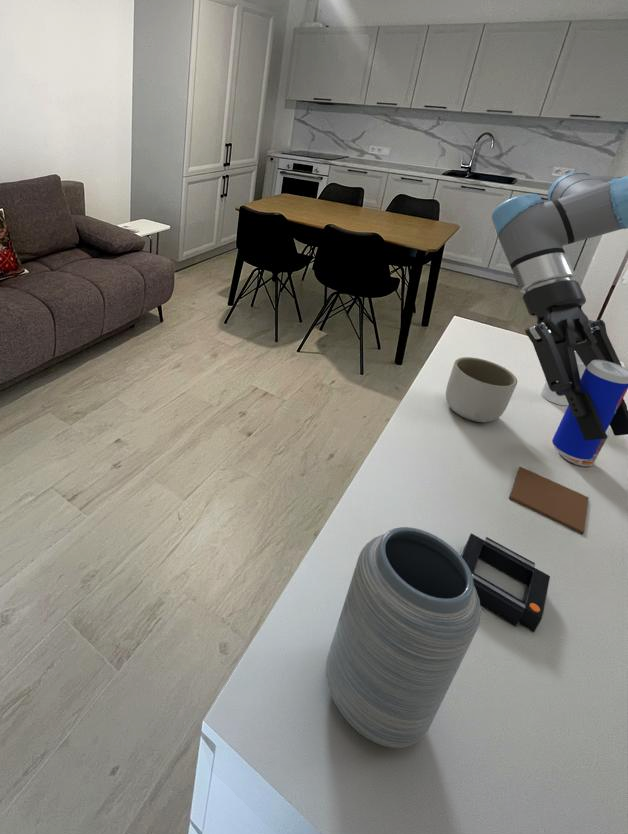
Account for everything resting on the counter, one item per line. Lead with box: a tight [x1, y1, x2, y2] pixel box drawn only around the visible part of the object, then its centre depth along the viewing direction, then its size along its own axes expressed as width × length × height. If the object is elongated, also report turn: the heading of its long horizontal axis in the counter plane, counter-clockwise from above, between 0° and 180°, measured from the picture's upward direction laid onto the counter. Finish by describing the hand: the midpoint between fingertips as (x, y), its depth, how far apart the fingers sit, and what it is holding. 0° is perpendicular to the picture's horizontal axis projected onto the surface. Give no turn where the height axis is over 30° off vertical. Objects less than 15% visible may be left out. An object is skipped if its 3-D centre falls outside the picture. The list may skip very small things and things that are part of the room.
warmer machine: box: [460, 532, 551, 633], centre depth 73 cm, size 11×11×3 cm
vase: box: [325, 526, 482, 749], centre depth 54 cm, size 12×12×23 cm
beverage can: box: [551, 360, 628, 461], centre depth 74 cm, size 5×5×15 cm
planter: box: [445, 356, 518, 423], centre depth 113 cm, size 12×12×11 cm
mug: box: [540, 351, 586, 406], centre depth 122 cm, size 10×7×12 cm, turn 148°
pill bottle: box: [557, 425, 611, 468], centre depth 100 cm, size 6×6×11 cm
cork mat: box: [508, 466, 590, 535], centre depth 91 cm, size 11×11×1 cm
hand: (611, 436), depth 71 cm, fingers closed on beverage can, 5 cm apart
